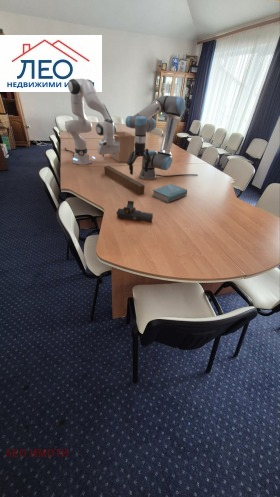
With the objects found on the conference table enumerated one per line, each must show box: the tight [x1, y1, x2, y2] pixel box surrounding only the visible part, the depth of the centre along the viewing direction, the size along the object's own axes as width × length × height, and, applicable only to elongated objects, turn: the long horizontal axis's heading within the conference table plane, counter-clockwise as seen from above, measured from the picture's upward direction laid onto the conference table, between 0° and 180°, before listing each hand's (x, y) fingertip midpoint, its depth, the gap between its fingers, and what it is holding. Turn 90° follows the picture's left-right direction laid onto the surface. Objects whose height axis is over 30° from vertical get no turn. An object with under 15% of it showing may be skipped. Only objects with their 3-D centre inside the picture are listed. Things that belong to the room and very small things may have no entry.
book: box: [152, 183, 188, 204], centre depth 172 cm, size 23×16×5 cm
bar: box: [103, 165, 145, 196], centre depth 187 cm, size 56×5×7 cm, turn 36°
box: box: [109, 129, 135, 163], centre depth 244 cm, size 44×36×27 cm
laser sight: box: [116, 200, 154, 223], centre depth 136 cm, size 10×22×10 cm, turn 78°
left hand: (109, 158), depth 195 cm, fingers open, 8 cm apart
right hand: (138, 172), depth 166 cm, fingers open, 13 cm apart
